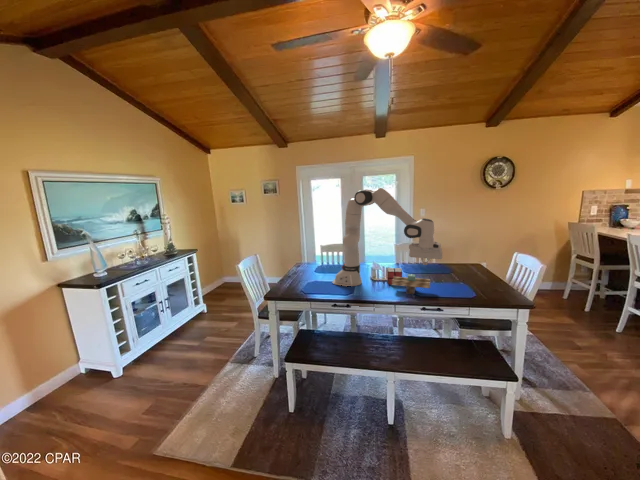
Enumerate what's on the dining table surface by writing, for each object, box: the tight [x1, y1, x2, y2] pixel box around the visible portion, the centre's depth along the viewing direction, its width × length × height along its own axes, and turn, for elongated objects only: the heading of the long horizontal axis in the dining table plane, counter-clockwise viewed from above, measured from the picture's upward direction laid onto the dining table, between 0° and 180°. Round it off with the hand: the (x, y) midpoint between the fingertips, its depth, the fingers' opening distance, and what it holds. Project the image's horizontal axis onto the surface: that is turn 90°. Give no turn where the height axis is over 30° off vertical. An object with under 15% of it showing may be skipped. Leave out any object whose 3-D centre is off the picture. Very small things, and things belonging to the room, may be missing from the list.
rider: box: [407, 273, 416, 281], centre depth 182 cm, size 4×5×5 cm
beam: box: [391, 276, 431, 295], centre depth 183 cm, size 24×9×9 cm, turn 67°
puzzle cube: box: [386, 267, 403, 286], centre depth 203 cm, size 10×10×10 cm
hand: (424, 264), depth 177 cm, fingers closed
